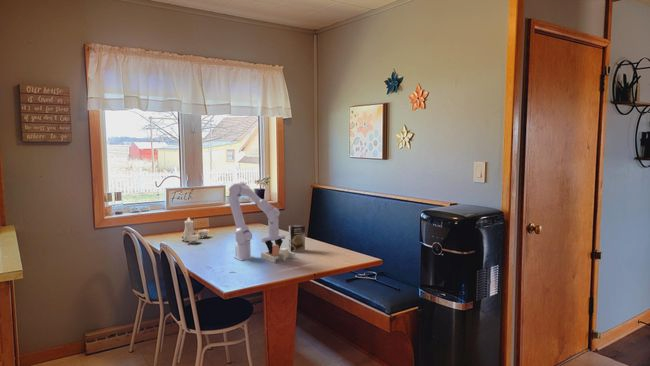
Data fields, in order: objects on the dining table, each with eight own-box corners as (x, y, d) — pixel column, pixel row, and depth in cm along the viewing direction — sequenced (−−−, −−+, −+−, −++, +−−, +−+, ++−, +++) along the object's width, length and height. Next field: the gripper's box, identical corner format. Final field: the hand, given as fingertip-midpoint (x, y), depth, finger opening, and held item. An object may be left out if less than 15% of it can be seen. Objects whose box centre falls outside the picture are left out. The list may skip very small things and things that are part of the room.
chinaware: (198, 247, 289) (200, 222, 287) (173, 244, 289) (175, 220, 287) (210, 238, 317) (212, 215, 315) (187, 236, 317) (189, 213, 315)
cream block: (279, 257, 253) (278, 248, 252) (284, 256, 255) (284, 247, 255) (282, 258, 249) (282, 250, 249) (288, 257, 252) (288, 249, 251)
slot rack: (259, 258, 252) (259, 252, 252) (281, 254, 261) (281, 248, 261) (274, 264, 240) (274, 258, 239) (297, 259, 249) (297, 253, 249)
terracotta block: (269, 255, 248) (269, 245, 248) (275, 254, 251) (275, 244, 250) (273, 257, 245) (272, 246, 244) (279, 255, 247) (278, 245, 247)
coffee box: (290, 253, 265) (290, 226, 263) (288, 250, 271) (288, 225, 269) (305, 252, 267) (305, 226, 266) (303, 249, 273) (302, 224, 272)
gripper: (266, 232, 239) (266, 256, 240) (288, 228, 248) (288, 252, 249) (259, 230, 244) (260, 254, 246) (281, 227, 253) (281, 250, 255)
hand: (274, 253), depth 248 cm, fingers closed on terracotta block, 4 cm apart
